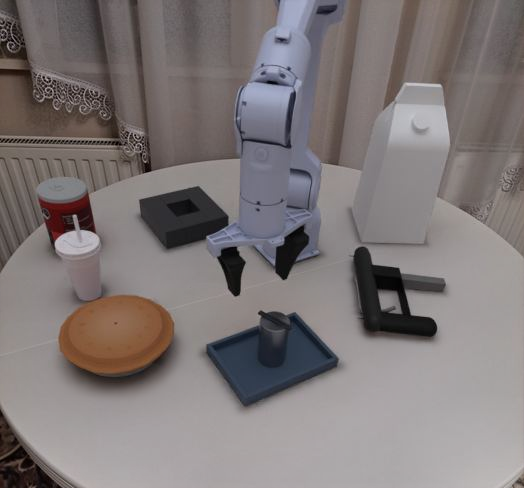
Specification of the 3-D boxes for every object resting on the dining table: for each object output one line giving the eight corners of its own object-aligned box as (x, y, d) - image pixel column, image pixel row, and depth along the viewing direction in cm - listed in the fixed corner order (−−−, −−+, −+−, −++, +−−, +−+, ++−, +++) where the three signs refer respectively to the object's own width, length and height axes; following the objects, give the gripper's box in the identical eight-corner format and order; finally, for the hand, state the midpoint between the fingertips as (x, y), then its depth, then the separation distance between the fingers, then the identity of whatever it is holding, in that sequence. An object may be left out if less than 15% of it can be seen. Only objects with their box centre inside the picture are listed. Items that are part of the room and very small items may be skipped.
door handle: (438, 254, 90) (349, 243, 89) (466, 332, 76) (360, 320, 75) (431, 269, 92) (344, 259, 91) (457, 347, 78) (354, 336, 77)
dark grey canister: (264, 341, 75) (267, 303, 69) (294, 357, 73) (299, 319, 68) (248, 357, 72) (250, 319, 67) (278, 373, 70) (283, 336, 65)
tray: (294, 319, 79) (295, 311, 78) (337, 366, 73) (339, 358, 71) (206, 352, 73) (206, 344, 72) (244, 406, 67) (245, 398, 65)
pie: (81, 310, 78) (74, 284, 74) (182, 316, 78) (180, 290, 75) (48, 386, 67) (38, 360, 64) (166, 393, 67) (162, 368, 64)
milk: (409, 212, 104) (449, 74, 86) (423, 243, 96) (471, 99, 78) (351, 210, 104) (379, 71, 85) (361, 242, 96) (394, 96, 77)
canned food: (62, 230, 93) (47, 173, 85) (105, 236, 92) (94, 179, 84) (44, 254, 87) (26, 196, 79) (89, 260, 87) (76, 202, 79)
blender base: (199, 201, 103) (198, 185, 100) (228, 232, 95) (228, 215, 93) (140, 215, 98) (138, 199, 95) (167, 249, 90) (165, 232, 88)
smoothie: (100, 309, 78) (82, 230, 68) (61, 302, 79) (37, 223, 69) (116, 284, 83) (102, 207, 73) (79, 278, 83) (60, 200, 73)
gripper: (225, 224, 55) (225, 317, 65) (332, 195, 61) (317, 284, 71) (196, 194, 59) (200, 286, 69) (299, 170, 65) (289, 258, 75)
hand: (258, 283), depth 70 cm, fingers open, 7 cm apart
